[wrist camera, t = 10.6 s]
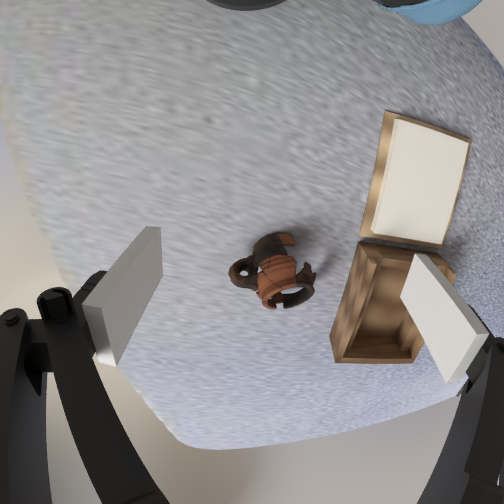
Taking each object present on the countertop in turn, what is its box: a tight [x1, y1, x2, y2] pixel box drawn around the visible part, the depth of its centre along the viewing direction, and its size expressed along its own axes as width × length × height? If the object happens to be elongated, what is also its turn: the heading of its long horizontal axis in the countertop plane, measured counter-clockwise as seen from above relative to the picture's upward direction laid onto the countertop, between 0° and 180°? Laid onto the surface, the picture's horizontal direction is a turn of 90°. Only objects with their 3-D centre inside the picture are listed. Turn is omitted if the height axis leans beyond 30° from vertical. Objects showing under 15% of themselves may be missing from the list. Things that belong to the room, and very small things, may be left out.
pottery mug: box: [228, 233, 316, 309], centre depth 43 cm, size 12×10×8 cm
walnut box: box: [330, 242, 457, 364], centre depth 44 cm, size 18×15×6 cm
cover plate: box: [371, 119, 469, 244], centre depth 38 cm, size 16×12×2 cm
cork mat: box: [359, 111, 471, 249], centre depth 39 cm, size 18×15×1 cm
